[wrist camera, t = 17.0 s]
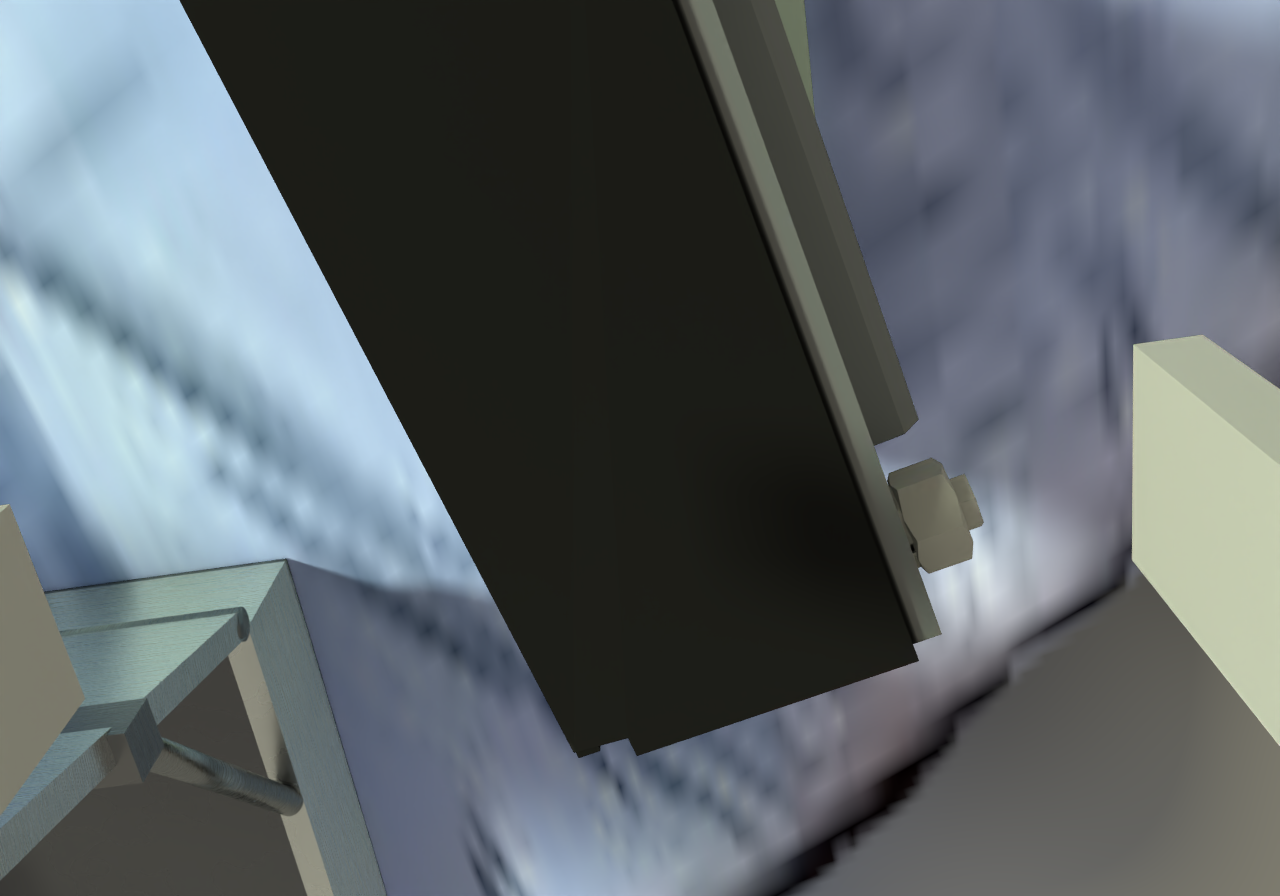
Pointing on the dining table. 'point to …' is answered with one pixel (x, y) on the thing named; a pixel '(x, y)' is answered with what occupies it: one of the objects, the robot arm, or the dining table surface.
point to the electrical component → (614, 335)
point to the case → (190, 751)
